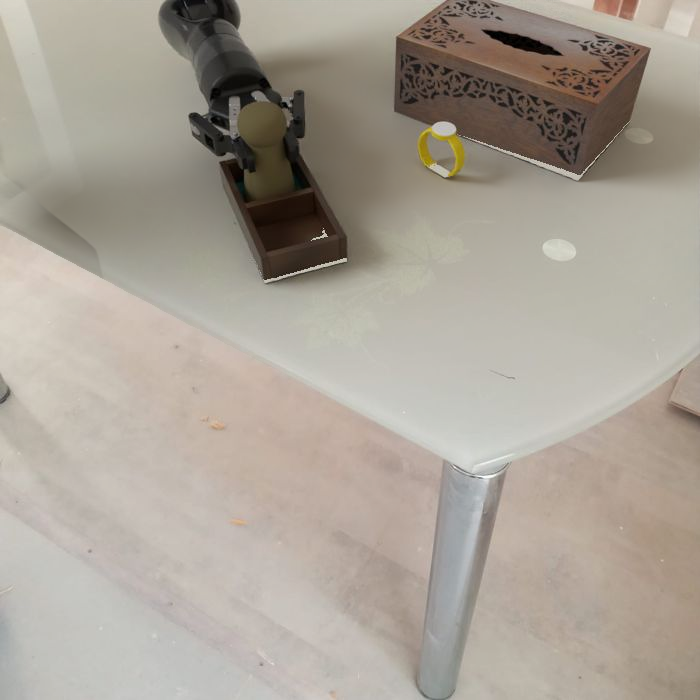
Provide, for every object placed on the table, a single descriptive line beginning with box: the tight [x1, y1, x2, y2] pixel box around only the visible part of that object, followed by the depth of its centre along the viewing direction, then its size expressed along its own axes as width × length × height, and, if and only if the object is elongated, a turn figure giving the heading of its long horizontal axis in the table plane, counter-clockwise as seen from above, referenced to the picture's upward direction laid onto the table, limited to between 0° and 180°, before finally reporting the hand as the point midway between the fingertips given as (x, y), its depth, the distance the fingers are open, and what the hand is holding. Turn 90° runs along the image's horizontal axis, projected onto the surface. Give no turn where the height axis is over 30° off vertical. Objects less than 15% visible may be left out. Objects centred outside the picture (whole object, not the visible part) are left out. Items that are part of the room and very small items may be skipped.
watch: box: [417, 122, 466, 177], centre depth 89 cm, size 6×3×6 cm, turn 46°
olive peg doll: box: [237, 101, 297, 203], centre depth 83 cm, size 6×6×11 cm
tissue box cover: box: [393, 0, 652, 175], centre depth 94 cm, size 26×14×10 cm, turn 54°
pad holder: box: [218, 153, 348, 280], centre depth 84 cm, size 9×17×4 cm, turn 20°
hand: (272, 160), depth 81 cm, fingers closed on olive peg doll, 4 cm apart
